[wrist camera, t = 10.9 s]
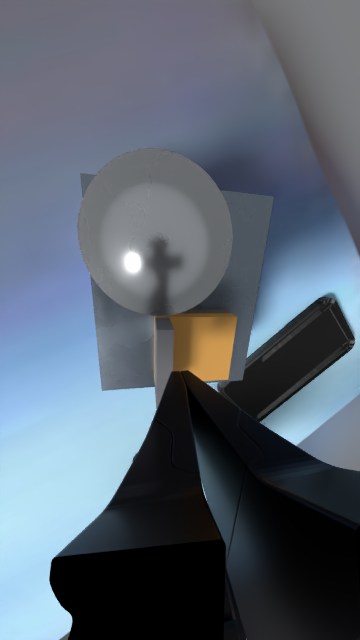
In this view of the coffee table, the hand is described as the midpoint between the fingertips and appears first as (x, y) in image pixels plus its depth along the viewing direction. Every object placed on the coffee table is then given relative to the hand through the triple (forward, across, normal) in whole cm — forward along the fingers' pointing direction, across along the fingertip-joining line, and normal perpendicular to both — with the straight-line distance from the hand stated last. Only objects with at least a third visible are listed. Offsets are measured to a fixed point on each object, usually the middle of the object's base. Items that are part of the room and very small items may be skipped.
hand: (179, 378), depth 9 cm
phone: (+9, -14, +5) cm, 17 cm away
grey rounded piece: (+8, +1, -6) cm, 10 cm away
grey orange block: (+3, +1, 0) cm, 3 cm away
